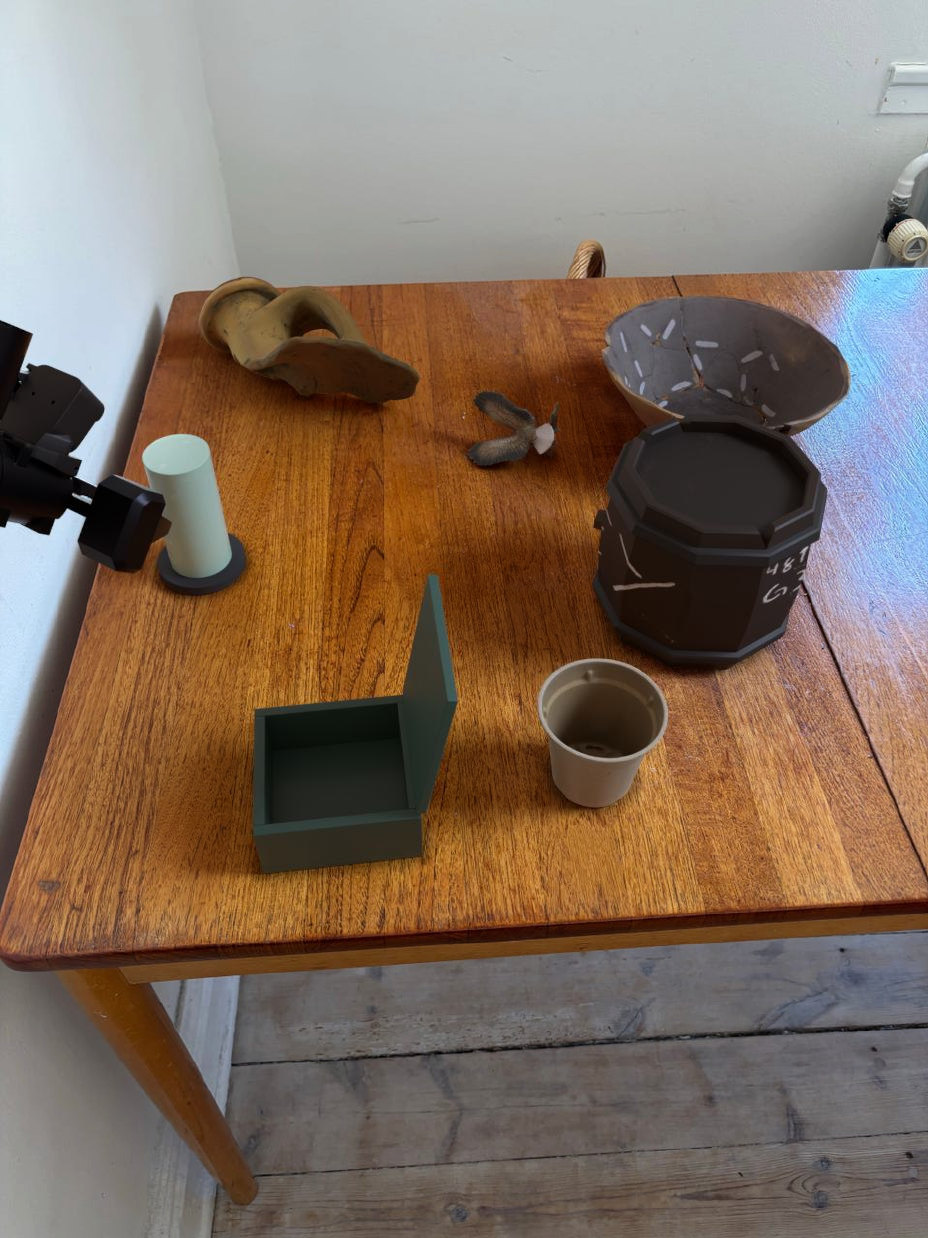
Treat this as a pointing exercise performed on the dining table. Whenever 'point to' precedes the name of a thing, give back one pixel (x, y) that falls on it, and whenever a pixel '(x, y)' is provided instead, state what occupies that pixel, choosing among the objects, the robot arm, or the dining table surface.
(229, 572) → the rubber mat
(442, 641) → the box lid
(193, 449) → the pale green cylinder
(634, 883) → the dining table surface
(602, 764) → the flower pot
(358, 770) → the box
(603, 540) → the black polygonal canister
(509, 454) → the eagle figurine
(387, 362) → the brown looped sculpture
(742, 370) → the bowl
